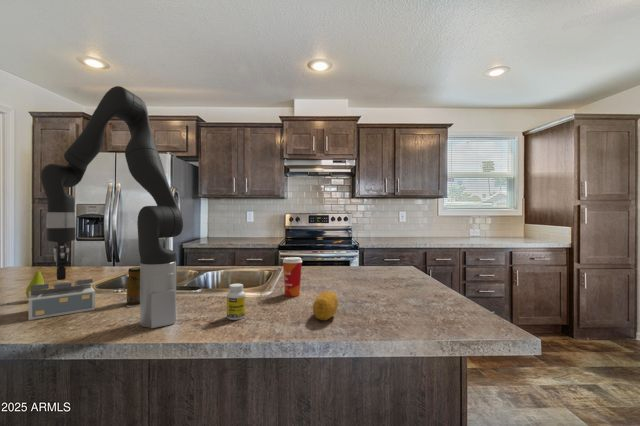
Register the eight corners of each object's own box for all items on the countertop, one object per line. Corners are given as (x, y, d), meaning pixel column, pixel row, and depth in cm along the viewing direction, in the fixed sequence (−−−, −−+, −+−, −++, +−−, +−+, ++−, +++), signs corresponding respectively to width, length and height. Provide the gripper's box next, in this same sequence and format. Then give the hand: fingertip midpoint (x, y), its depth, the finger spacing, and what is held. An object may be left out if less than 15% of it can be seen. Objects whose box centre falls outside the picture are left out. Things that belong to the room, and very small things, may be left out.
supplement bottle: (226, 321, 96) (226, 287, 96) (226, 315, 101) (226, 283, 101) (245, 319, 97) (245, 286, 97) (244, 314, 103) (244, 282, 103)
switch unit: (95, 310, 106) (95, 287, 106) (28, 320, 95) (28, 295, 95) (90, 301, 115) (90, 281, 115) (28, 310, 105) (28, 287, 105)
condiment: (145, 299, 120) (145, 265, 120) (151, 304, 113) (151, 269, 113) (122, 302, 115) (122, 267, 115) (126, 308, 108) (127, 271, 108)
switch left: (48, 287, 99) (48, 283, 100) (30, 289, 97) (30, 285, 97) (47, 288, 107) (47, 284, 107) (30, 290, 104) (30, 286, 104)
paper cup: (280, 292, 129) (280, 257, 129) (299, 291, 132) (299, 256, 131) (284, 298, 122) (284, 260, 122) (304, 296, 124) (304, 259, 124)
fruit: (25, 303, 112) (25, 268, 112) (26, 300, 117) (26, 266, 117) (47, 300, 116) (47, 266, 116) (47, 297, 121) (47, 264, 121)
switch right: (92, 282, 107) (92, 278, 107) (77, 284, 104) (77, 280, 104) (88, 284, 114) (88, 280, 114) (74, 285, 111) (74, 281, 112)
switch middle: (71, 286, 103) (71, 282, 103) (54, 288, 100) (54, 284, 100) (68, 284, 110) (68, 280, 111) (53, 286, 108) (53, 282, 108)
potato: (341, 310, 107) (341, 289, 106) (333, 326, 92) (333, 300, 92) (319, 309, 108) (319, 287, 108) (308, 323, 94) (308, 299, 94)
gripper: (77, 226, 105) (77, 281, 105) (73, 225, 115) (73, 275, 115) (47, 227, 100) (47, 284, 100) (45, 226, 110) (45, 277, 110)
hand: (61, 279), depth 108 cm, fingers closed
